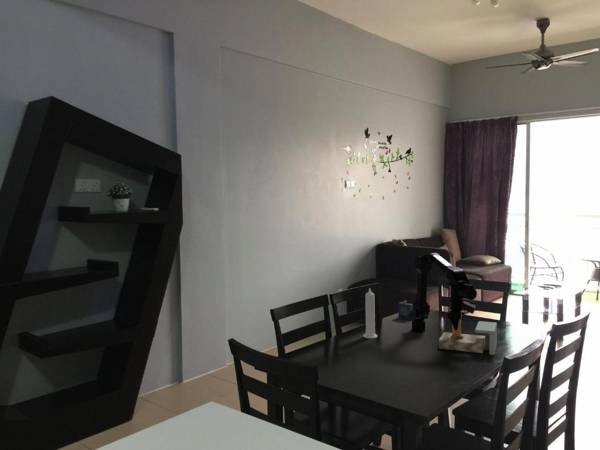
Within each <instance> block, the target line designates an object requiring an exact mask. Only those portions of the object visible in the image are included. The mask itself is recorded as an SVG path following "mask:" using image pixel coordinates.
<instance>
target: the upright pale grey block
mask: <svg viewBox="0 0 600 450" xmlns="http://www.w3.org/2000/svg"><path fill="white" fill-rule="evenodd" d="M497 328H498V323H497V322H495V321H494V322H492V321H483V320H481V321H480V320H479V321H478V322H477V325H476V327H475V329H474V332H475V333H480V334H489V355H491V356H495V355H496V350H497V346H498V344H497V343H498V341H497V339H498V335H497V333H498V332H497V331H498V329H497Z"/></svg>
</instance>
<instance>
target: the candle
mask: <svg viewBox="0 0 600 450" xmlns="http://www.w3.org/2000/svg"><path fill="white" fill-rule="evenodd" d="M367 291H368V292H366V293H365V297H364V298H365V333H364V334H363V338H365V339H369V340H370V339H377V338H378V334H376V328H375V327H376V320H375V319H376V317H375V316H376V313H375V311H376V310H375V309H376V308H375V307H376V306H375V304H376V303H375V299H376V298H375V293H374V292H373V291H372V289H371V287H369V289H368V290H367Z"/></svg>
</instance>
